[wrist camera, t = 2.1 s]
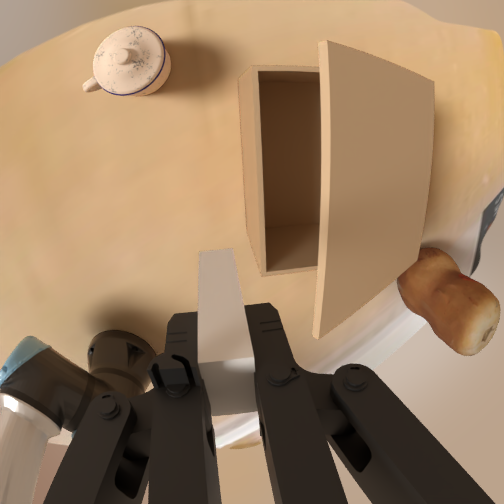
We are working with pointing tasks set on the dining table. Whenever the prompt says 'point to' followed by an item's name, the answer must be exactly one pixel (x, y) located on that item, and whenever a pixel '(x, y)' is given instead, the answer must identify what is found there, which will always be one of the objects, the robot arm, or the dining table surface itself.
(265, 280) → the dining table surface
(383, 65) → the carton lid
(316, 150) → the carton
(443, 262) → the butternut squash
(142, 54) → the teacup with lid
